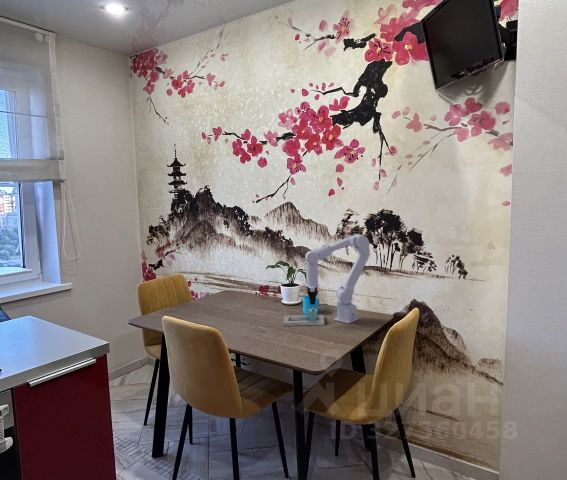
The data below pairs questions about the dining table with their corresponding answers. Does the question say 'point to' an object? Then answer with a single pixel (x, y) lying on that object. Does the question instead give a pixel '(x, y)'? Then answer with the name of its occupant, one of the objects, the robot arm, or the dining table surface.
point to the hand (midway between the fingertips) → (312, 302)
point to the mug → (307, 304)
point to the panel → (303, 320)
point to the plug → (312, 314)
